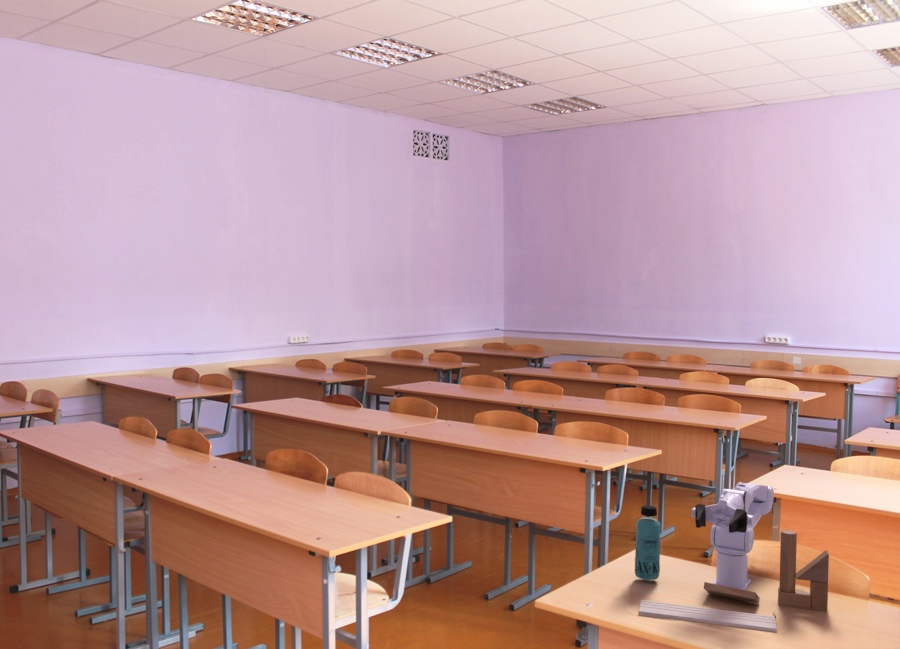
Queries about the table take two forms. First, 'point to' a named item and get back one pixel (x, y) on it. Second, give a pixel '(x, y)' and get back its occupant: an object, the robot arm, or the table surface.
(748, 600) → the plank
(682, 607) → the baseboard
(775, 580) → the table surface
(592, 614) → the table surface
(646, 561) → the beverage bottle
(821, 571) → the wooden block
